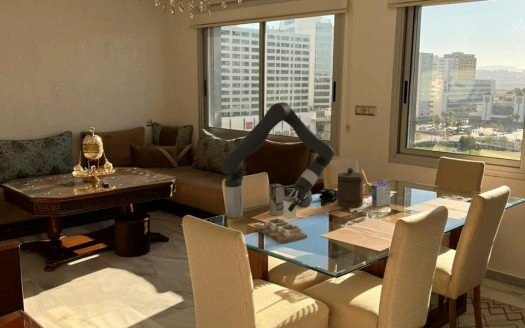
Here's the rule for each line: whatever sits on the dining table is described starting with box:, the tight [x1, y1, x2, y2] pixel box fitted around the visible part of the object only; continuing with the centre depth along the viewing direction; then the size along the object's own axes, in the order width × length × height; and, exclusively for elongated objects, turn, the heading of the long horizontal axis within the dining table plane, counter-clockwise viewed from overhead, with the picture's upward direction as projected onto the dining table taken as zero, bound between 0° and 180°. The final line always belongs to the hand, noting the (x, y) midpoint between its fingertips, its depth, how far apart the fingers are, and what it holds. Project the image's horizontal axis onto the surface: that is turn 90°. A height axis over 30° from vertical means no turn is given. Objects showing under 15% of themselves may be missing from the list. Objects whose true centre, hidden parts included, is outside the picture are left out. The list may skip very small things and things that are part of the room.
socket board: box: [255, 217, 308, 244], centre depth 236 cm, size 24×14×4 cm, turn 30°
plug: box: [283, 196, 297, 220], centre depth 230 cm, size 4×4×10 cm
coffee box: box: [268, 183, 287, 217], centre depth 269 cm, size 9×6×16 cm
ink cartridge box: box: [371, 179, 392, 208], centre depth 280 cm, size 10×6×14 cm, turn 112°
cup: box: [299, 190, 313, 208], centre depth 283 cm, size 10×9×10 cm
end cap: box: [318, 188, 337, 203], centre depth 294 cm, size 10×7×7 cm
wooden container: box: [336, 167, 364, 209], centre depth 282 cm, size 15×15×22 cm
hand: (286, 209), depth 229 cm, fingers closed on plug, 4 cm apart
